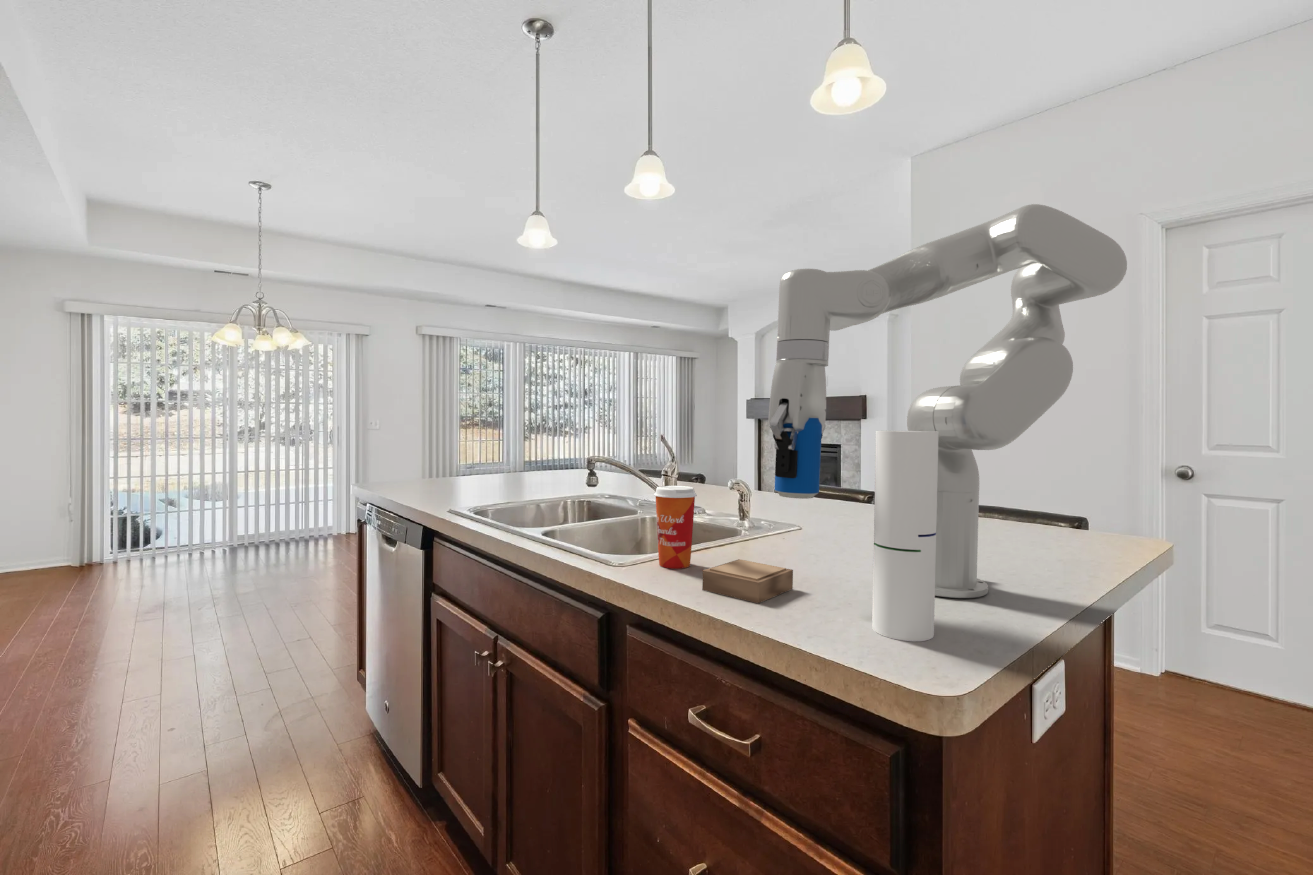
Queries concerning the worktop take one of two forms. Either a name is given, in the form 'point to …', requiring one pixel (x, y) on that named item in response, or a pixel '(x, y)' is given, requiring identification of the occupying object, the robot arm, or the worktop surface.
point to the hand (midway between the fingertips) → (797, 475)
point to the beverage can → (804, 463)
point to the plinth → (748, 580)
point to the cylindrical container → (905, 534)
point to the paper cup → (675, 525)
